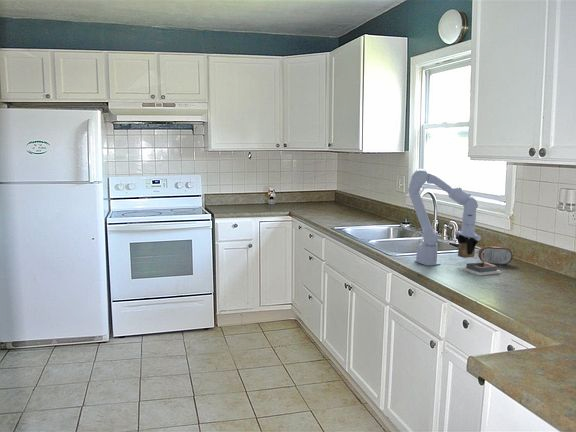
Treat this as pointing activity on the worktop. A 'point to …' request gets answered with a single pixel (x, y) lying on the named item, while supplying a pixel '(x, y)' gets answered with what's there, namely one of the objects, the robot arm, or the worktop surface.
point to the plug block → (464, 251)
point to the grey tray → (481, 268)
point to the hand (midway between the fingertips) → (466, 253)
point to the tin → (495, 255)
